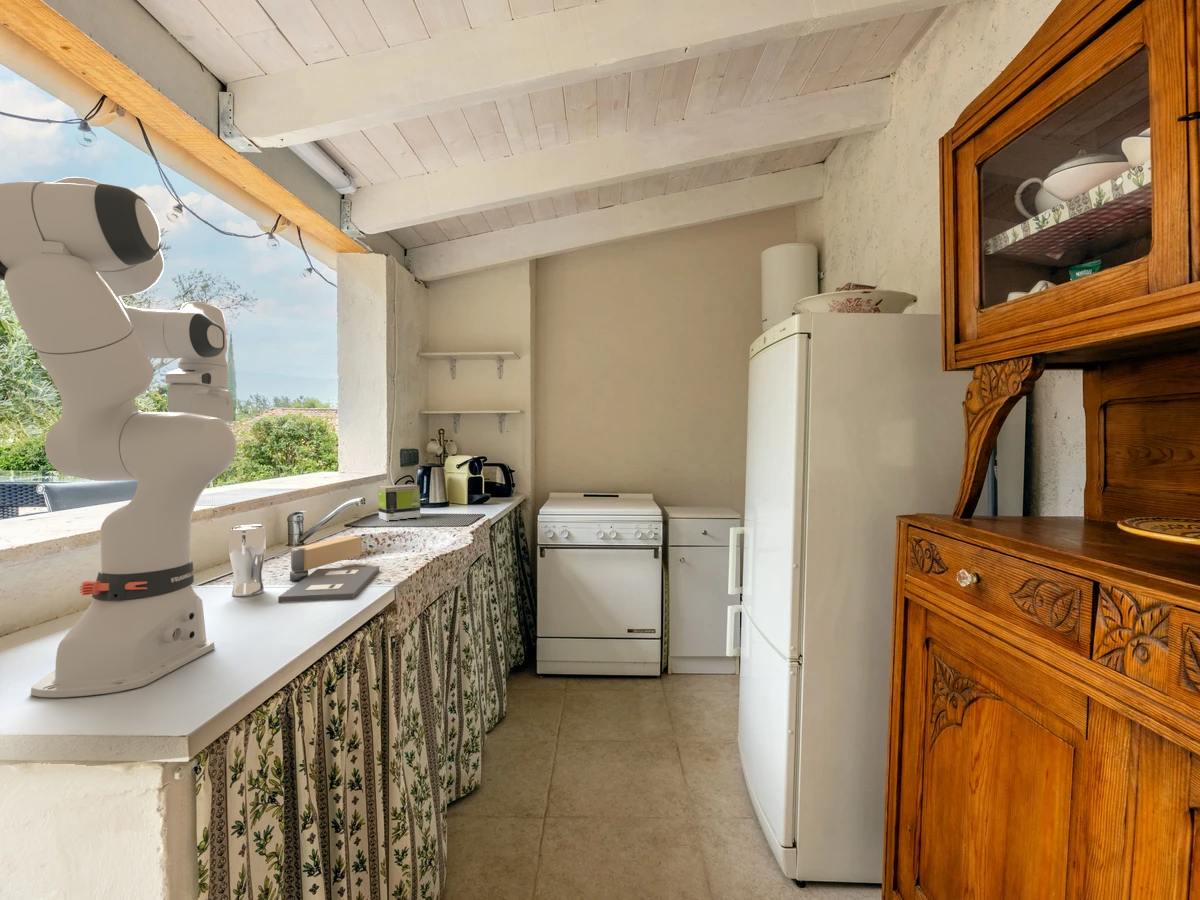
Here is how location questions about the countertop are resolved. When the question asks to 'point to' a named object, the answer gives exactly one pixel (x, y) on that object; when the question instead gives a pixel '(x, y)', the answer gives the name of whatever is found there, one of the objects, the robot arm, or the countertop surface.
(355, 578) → the label panel
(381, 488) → the tea box
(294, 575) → the pivot post
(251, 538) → the beer glass
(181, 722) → the countertop surface
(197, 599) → the robot arm
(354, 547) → the swing arm
